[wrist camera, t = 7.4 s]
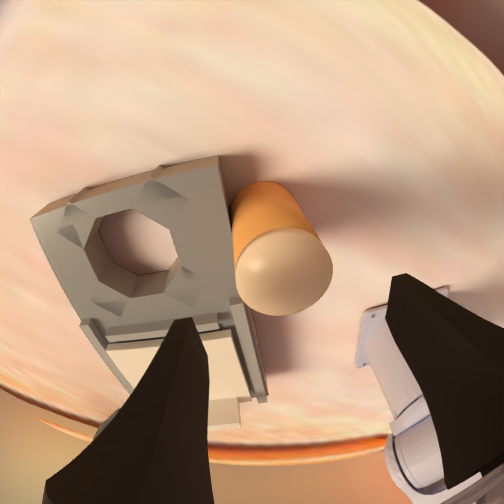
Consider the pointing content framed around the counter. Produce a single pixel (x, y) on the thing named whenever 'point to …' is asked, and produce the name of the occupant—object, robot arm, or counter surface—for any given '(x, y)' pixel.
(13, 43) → the counter surface
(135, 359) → the lid
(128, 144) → the counter surface
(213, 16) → the counter surface
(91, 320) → the housing
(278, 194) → the orange cylinder
